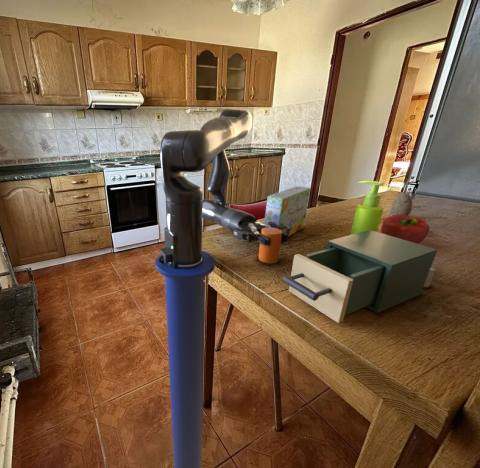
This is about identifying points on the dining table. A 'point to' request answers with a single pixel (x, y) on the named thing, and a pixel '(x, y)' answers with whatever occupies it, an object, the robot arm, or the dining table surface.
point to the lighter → (429, 277)
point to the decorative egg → (402, 205)
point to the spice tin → (270, 252)
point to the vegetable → (405, 228)
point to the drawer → (335, 281)
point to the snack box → (288, 209)
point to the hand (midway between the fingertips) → (278, 240)
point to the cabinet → (391, 264)
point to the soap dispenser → (368, 210)
